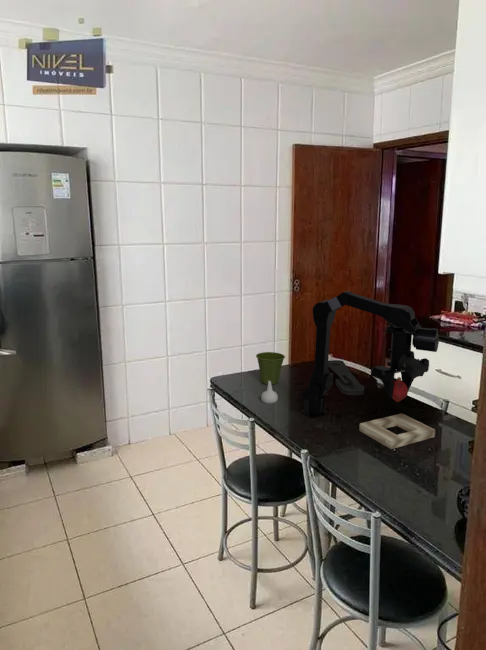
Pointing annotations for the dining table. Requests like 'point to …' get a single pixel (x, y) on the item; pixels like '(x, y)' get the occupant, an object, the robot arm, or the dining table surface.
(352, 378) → the zipper pull
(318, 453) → the dining table surface
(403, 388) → the onion
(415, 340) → the robot arm
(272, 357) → the plant pot
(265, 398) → the garlic bulb
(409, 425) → the cutout board
